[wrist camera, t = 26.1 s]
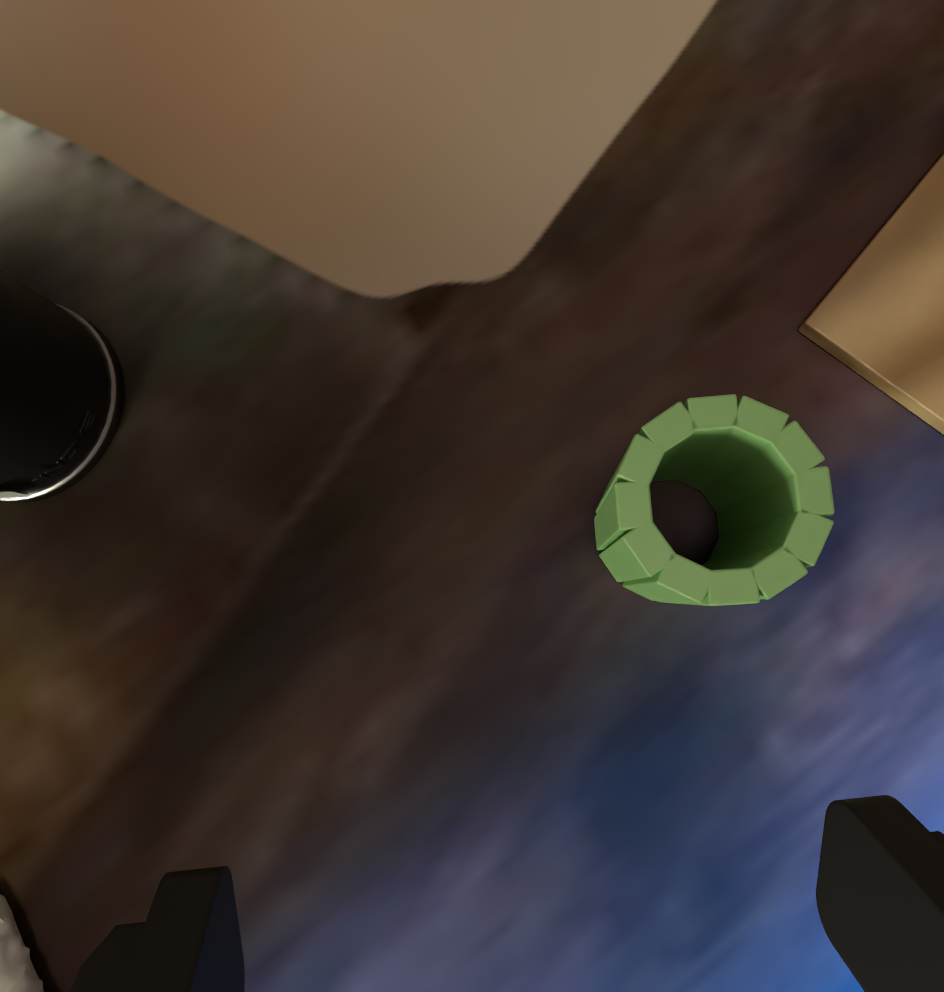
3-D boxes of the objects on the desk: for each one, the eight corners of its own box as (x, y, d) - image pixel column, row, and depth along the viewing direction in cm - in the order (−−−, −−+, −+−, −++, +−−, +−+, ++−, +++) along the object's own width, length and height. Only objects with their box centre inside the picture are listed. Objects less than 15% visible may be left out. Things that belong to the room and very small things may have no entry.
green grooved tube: (601, 605, 31) (626, 611, 21) (589, 463, 32) (607, 404, 22) (749, 596, 30) (847, 597, 20) (733, 452, 31) (819, 386, 21)
